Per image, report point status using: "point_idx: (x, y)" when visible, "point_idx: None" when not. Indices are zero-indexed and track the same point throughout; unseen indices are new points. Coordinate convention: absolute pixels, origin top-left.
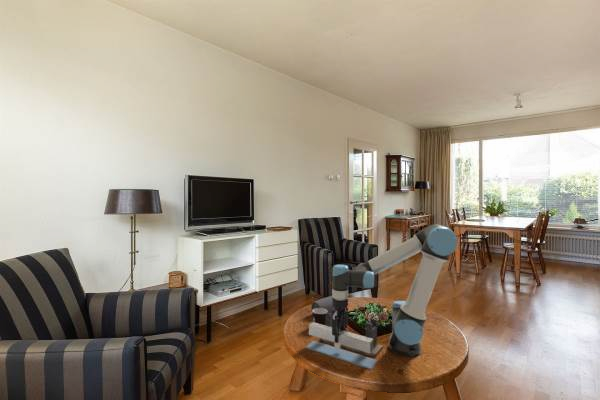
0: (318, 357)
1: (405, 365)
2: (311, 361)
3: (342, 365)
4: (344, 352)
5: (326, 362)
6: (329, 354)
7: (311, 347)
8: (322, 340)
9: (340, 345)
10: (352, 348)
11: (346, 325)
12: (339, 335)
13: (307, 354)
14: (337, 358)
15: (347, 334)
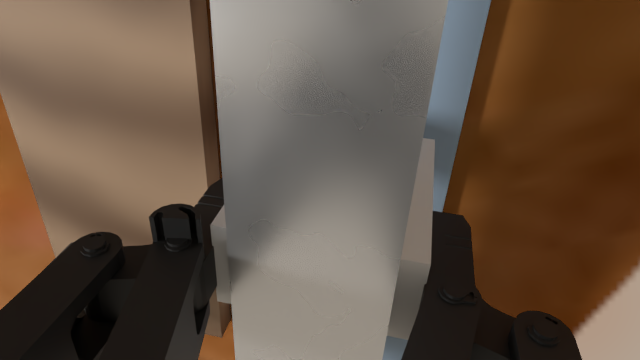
0: (509, 269)
1: None
2: (606, 300)
3: (596, 11)
4: None
5: (582, 187)
6: (435, 204)
7: (387, 351)
8: (227, 307)
9: (212, 161)
10: (198, 25)
11: (80, 273)
12: (412, 271)
13: None
14: (462, 112)
15: (351, 155)
